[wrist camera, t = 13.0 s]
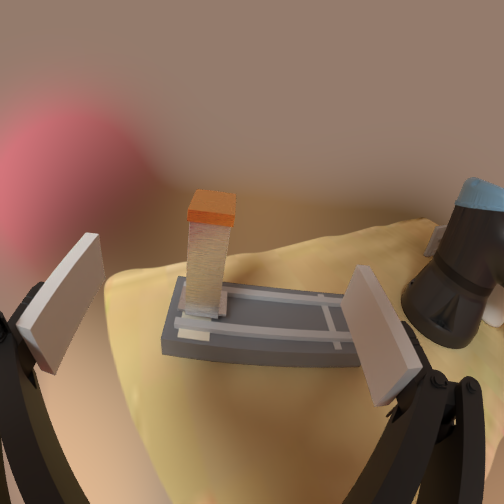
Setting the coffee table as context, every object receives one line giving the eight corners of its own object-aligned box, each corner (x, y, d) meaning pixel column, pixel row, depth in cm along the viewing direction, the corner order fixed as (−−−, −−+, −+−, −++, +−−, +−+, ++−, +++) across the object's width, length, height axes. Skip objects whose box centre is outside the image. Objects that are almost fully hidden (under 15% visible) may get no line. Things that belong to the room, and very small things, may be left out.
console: (337, 308, 37) (345, 291, 35) (359, 366, 28) (370, 349, 27) (177, 291, 34) (178, 271, 33) (162, 354, 26) (160, 334, 24)
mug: (455, 296, 44) (479, 252, 39) (468, 289, 48) (489, 248, 43) (495, 333, 35) (524, 288, 30) (504, 321, 39) (529, 280, 34)
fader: (227, 290, 31) (242, 195, 26) (225, 321, 27) (242, 216, 22) (184, 284, 31) (190, 188, 25) (176, 314, 26) (180, 208, 21)
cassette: (438, 248, 64) (449, 223, 60) (443, 252, 63) (455, 226, 59) (421, 254, 58) (433, 225, 54) (427, 258, 57) (440, 229, 53)
